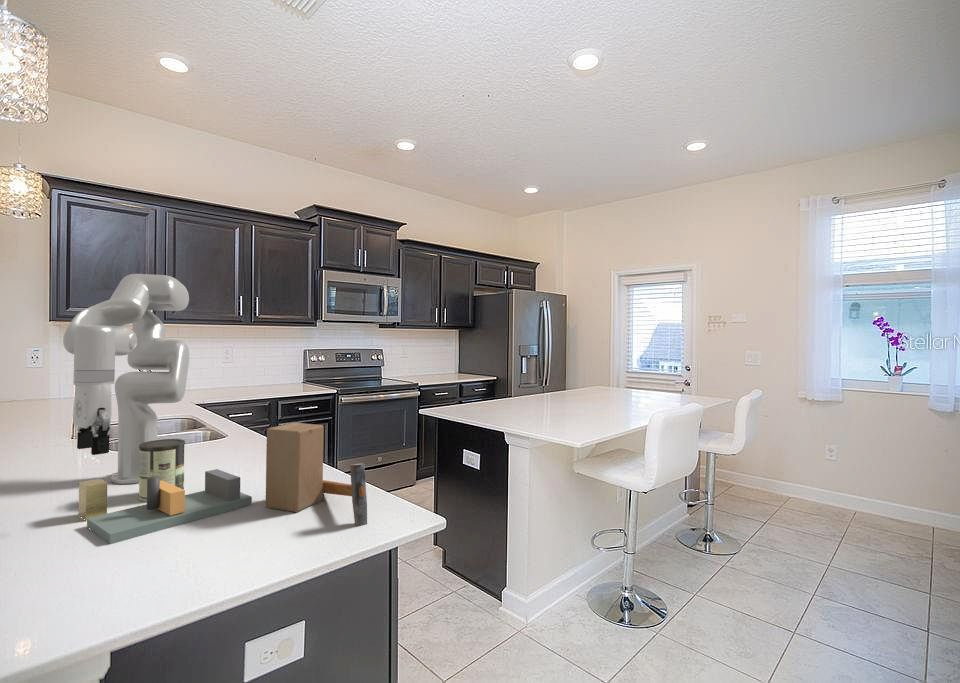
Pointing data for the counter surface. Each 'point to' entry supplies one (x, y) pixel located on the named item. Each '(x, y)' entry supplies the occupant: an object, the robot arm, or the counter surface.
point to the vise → (140, 521)
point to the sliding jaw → (164, 496)
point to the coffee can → (161, 463)
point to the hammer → (352, 492)
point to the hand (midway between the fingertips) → (92, 450)
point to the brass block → (92, 498)
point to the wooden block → (294, 466)
